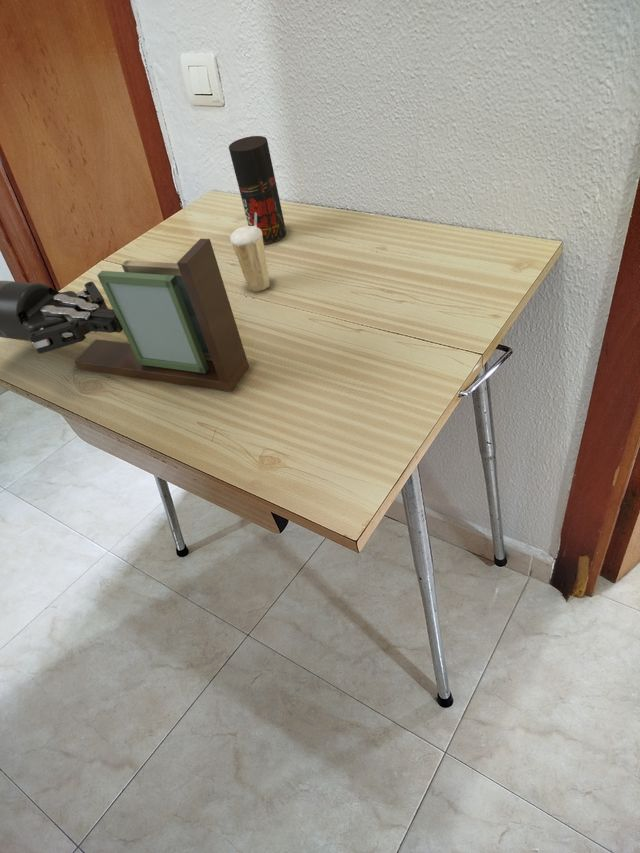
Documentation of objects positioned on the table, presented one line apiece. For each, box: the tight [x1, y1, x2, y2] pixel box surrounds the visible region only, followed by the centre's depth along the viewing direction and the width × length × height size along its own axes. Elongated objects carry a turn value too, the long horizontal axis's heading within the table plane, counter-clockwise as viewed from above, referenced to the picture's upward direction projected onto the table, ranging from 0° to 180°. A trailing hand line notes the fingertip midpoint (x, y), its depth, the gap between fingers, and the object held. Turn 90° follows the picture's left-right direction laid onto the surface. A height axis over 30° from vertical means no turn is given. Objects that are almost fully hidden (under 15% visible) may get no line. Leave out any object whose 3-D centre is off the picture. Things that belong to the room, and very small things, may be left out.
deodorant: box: [228, 135, 287, 245], centre depth 94 cm, size 6×6×15 cm
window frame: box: [73, 238, 250, 393], centre depth 71 cm, size 24×5×17 cm, turn 68°
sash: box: [96, 270, 209, 373], centre depth 69 cm, size 10×1×13 cm, turn 68°
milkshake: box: [229, 213, 270, 293], centre depth 85 cm, size 5×5×10 cm
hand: (121, 321), depth 71 cm, fingers closed
